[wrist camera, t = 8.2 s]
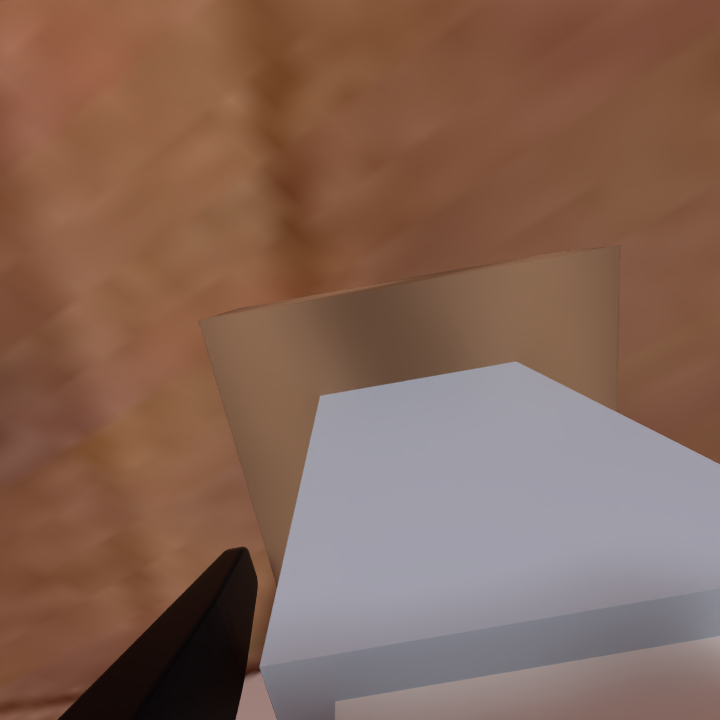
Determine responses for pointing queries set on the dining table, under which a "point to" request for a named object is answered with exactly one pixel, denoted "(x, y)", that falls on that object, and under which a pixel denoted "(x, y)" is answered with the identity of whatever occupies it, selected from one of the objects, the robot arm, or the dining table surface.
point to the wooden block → (403, 353)
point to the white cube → (496, 560)
